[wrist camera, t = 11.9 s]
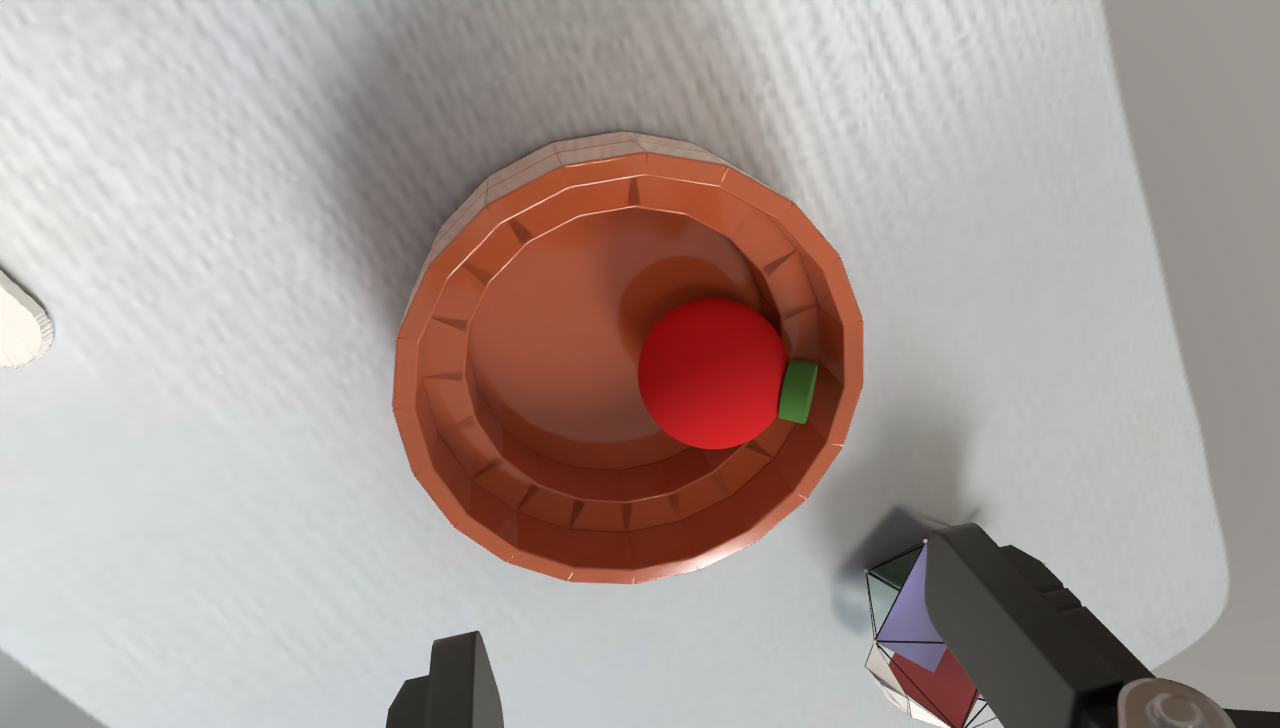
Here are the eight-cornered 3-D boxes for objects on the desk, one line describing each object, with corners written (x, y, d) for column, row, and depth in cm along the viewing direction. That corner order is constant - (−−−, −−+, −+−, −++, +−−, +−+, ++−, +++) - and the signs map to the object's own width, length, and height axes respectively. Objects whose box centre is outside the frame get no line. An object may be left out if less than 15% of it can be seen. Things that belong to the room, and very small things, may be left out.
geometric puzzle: (984, 469, 27) (992, 700, 22) (1093, 545, 30) (1120, 767, 25) (834, 512, 32) (816, 706, 28) (937, 574, 35) (936, 761, 30)
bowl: (360, 169, 22) (326, 203, 17) (800, 99, 23) (863, 115, 19) (466, 534, 27) (458, 623, 23) (813, 462, 28) (863, 535, 24)
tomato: (614, 332, 20) (809, 371, 19) (667, 261, 24) (834, 290, 22) (615, 460, 23) (787, 503, 21) (663, 379, 27) (813, 411, 25)
